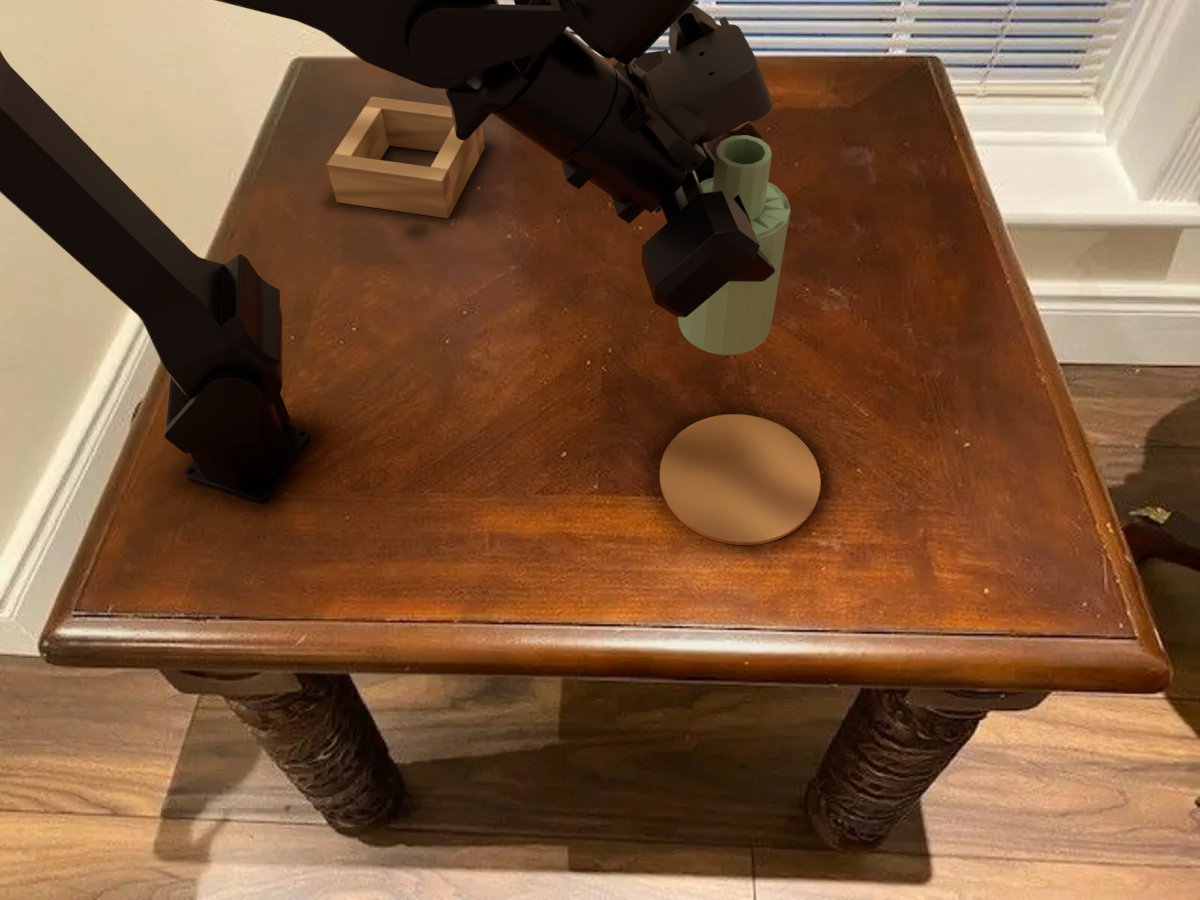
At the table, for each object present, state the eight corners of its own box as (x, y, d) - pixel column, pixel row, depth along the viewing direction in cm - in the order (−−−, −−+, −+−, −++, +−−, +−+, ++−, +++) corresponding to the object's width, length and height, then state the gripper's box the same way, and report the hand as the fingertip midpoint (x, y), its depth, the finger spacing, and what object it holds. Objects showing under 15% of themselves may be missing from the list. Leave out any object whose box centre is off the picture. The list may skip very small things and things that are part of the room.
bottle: (684, 358, 70) (697, 188, 59) (673, 292, 74) (683, 122, 63) (778, 352, 70) (808, 181, 59) (762, 287, 74) (787, 116, 63)
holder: (448, 218, 89) (442, 180, 86) (336, 202, 91) (326, 164, 88) (485, 147, 95) (480, 109, 92) (379, 133, 97) (371, 96, 94)
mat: (798, 565, 67) (799, 562, 67) (637, 517, 69) (637, 514, 69) (835, 441, 73) (836, 437, 73) (687, 401, 76) (687, 397, 75)
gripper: (736, 100, 47) (912, 254, 57) (646, -85, 58) (806, 70, 68) (572, 257, 52) (758, 373, 62) (519, 59, 64) (684, 183, 74)
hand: (753, 240), depth 66 cm, fingers closed on bottle, 6 cm apart
